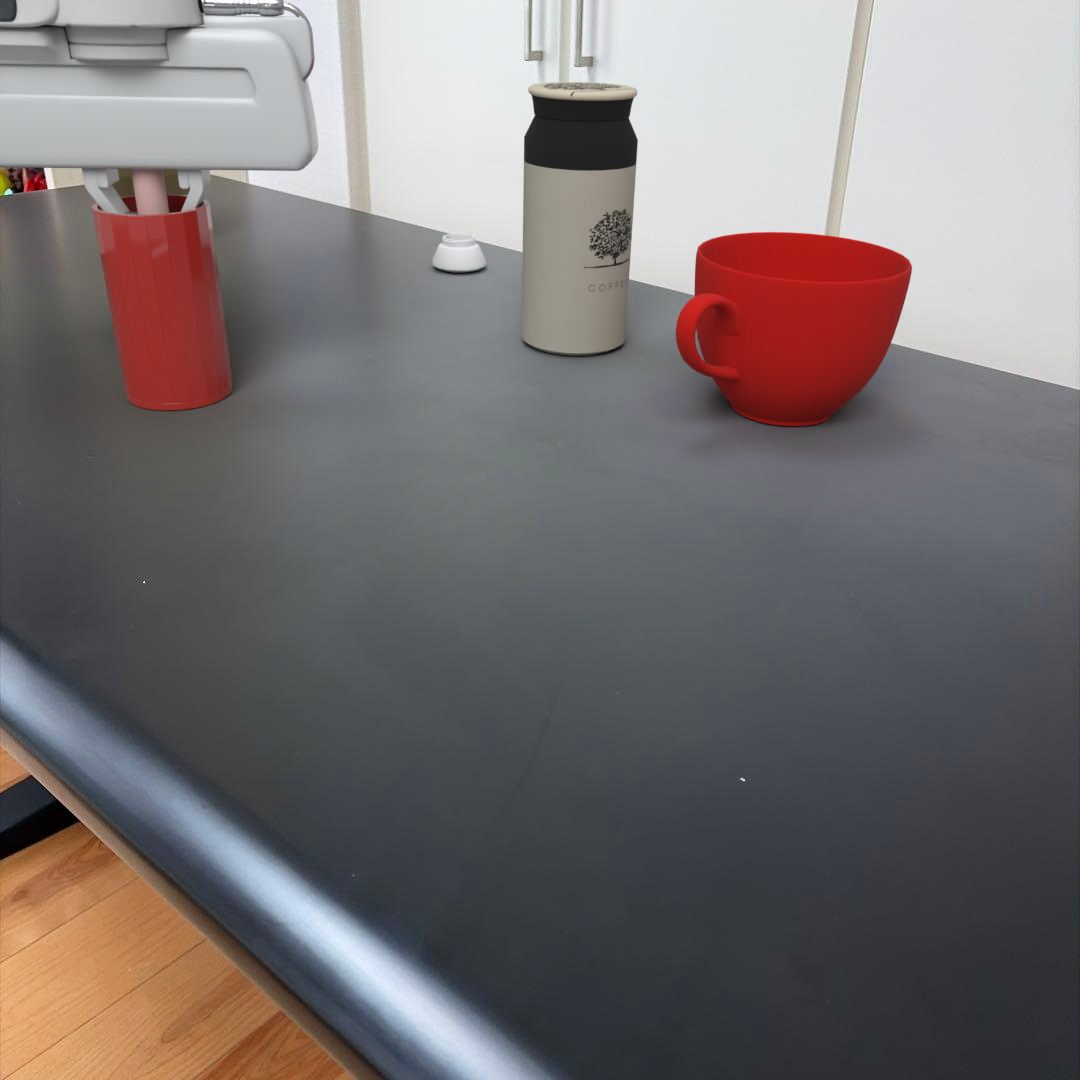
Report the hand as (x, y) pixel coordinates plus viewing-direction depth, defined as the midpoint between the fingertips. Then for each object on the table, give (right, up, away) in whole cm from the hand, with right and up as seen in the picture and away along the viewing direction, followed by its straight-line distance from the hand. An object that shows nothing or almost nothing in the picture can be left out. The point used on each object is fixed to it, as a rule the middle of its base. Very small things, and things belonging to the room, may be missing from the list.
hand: (158, 244), depth 63 cm
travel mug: (+26, -3, +16) cm, 31 cm away
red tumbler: (0, -8, +5) cm, 10 cm away
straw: (0, -7, +4) cm, 8 cm away
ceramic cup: (+38, -10, +3) cm, 39 cm away
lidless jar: (+16, +7, +35) cm, 39 cm away
